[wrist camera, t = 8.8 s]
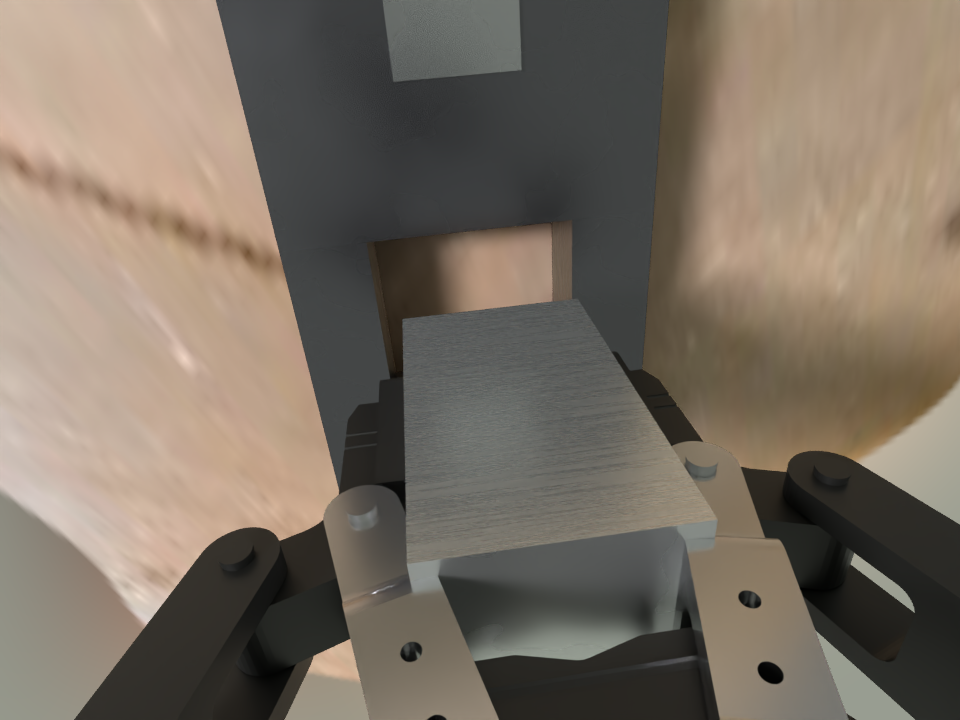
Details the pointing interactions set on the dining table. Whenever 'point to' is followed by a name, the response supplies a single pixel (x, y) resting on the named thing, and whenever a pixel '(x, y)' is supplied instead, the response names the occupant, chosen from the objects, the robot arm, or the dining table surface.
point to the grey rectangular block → (540, 484)
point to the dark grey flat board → (448, 154)
